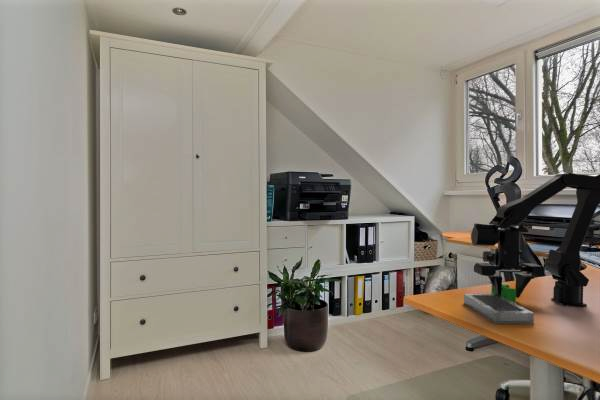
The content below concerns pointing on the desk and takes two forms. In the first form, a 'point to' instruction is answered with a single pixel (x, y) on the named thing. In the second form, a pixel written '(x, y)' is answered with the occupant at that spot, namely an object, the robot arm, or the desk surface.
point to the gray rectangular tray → (498, 309)
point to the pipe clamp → (507, 293)
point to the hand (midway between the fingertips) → (507, 297)
